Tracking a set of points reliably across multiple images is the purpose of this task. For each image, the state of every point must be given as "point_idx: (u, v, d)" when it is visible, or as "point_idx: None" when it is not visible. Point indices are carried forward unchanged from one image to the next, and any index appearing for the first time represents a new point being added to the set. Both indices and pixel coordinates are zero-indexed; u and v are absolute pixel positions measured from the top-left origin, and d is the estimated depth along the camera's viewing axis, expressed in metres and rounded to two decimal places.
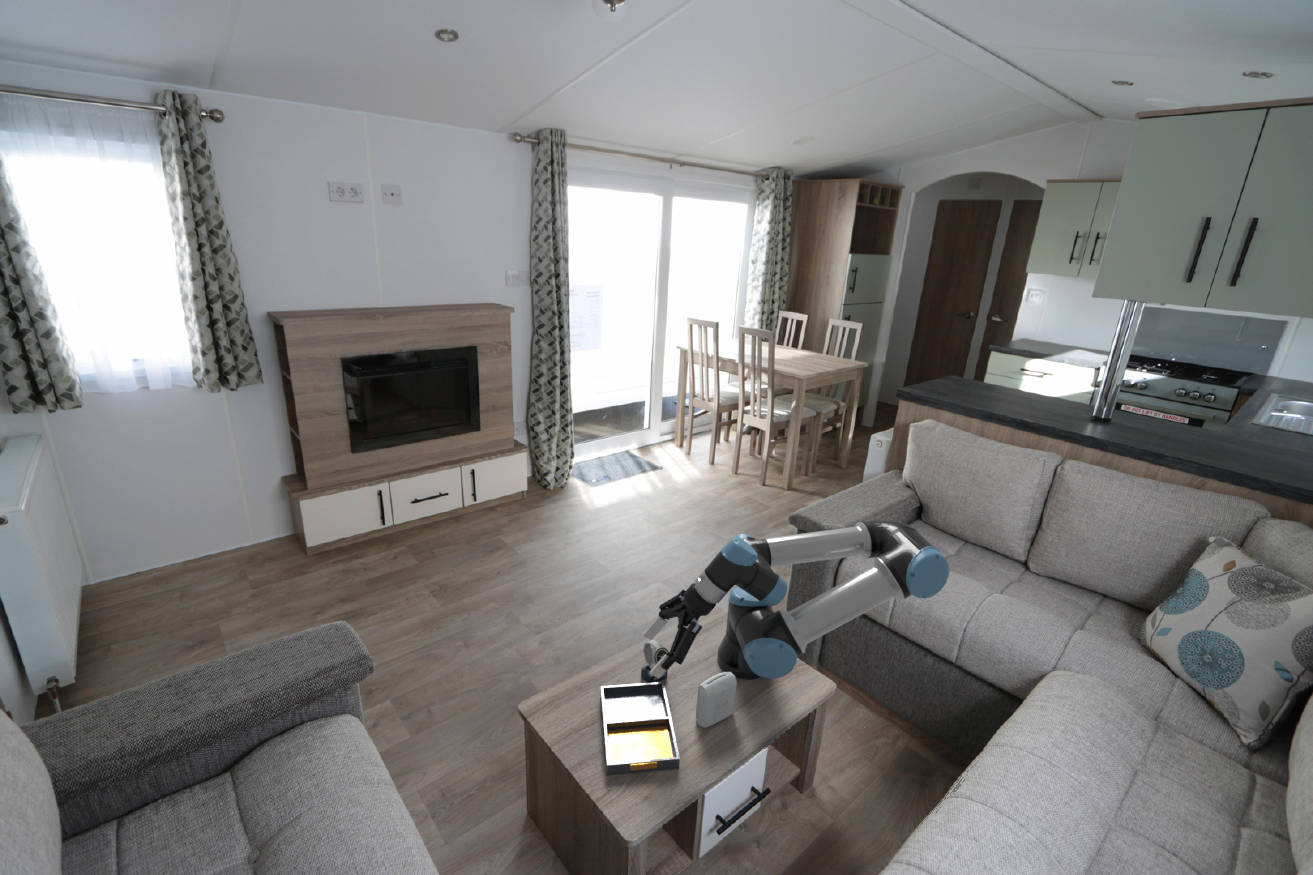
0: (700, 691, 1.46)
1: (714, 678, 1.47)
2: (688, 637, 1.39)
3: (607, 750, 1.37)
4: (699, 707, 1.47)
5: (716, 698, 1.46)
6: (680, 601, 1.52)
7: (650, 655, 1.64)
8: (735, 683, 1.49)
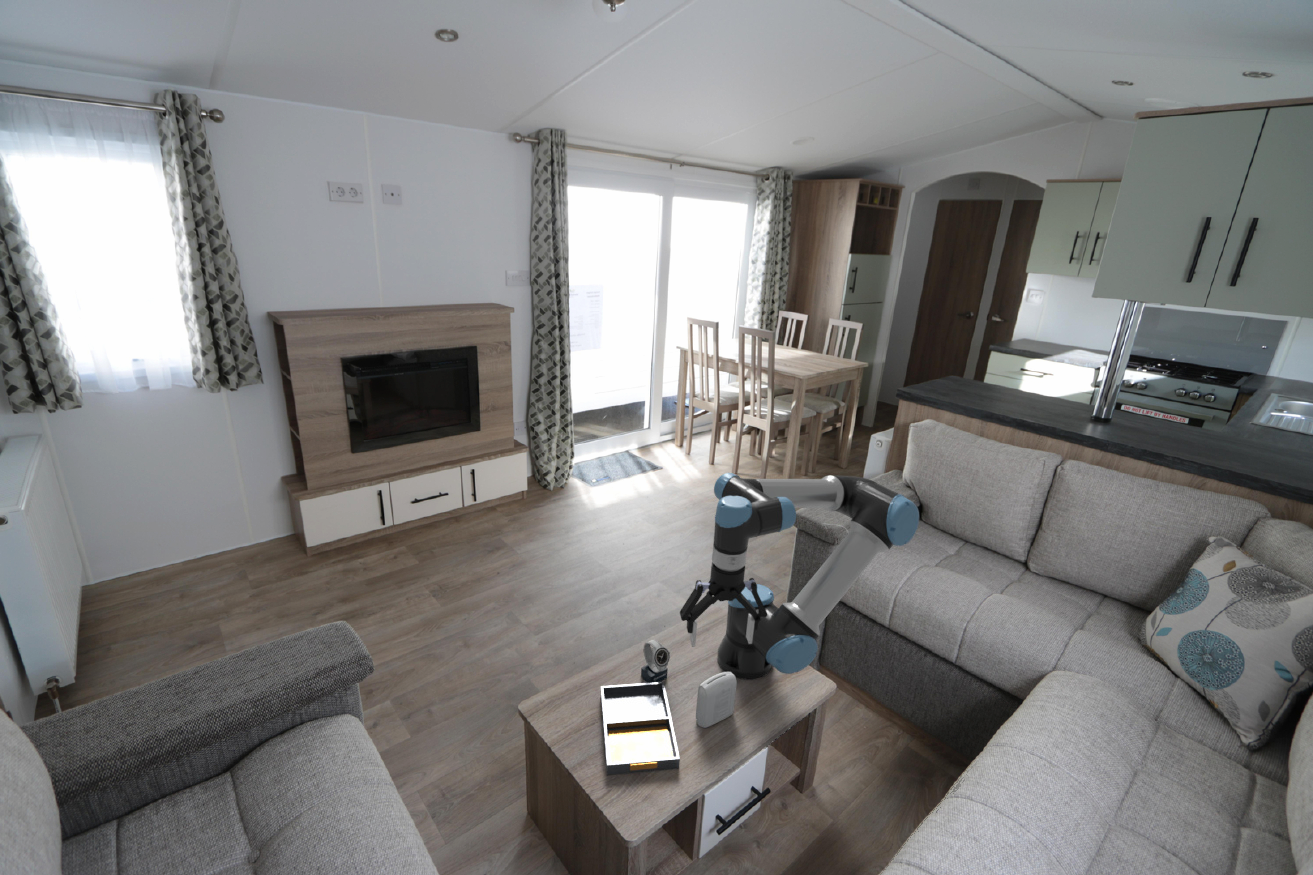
0: (700, 691, 1.46)
1: (714, 678, 1.47)
2: (758, 594, 1.40)
3: (607, 750, 1.37)
4: (699, 707, 1.47)
5: (716, 698, 1.46)
6: None
7: (650, 655, 1.64)
8: (735, 683, 1.49)
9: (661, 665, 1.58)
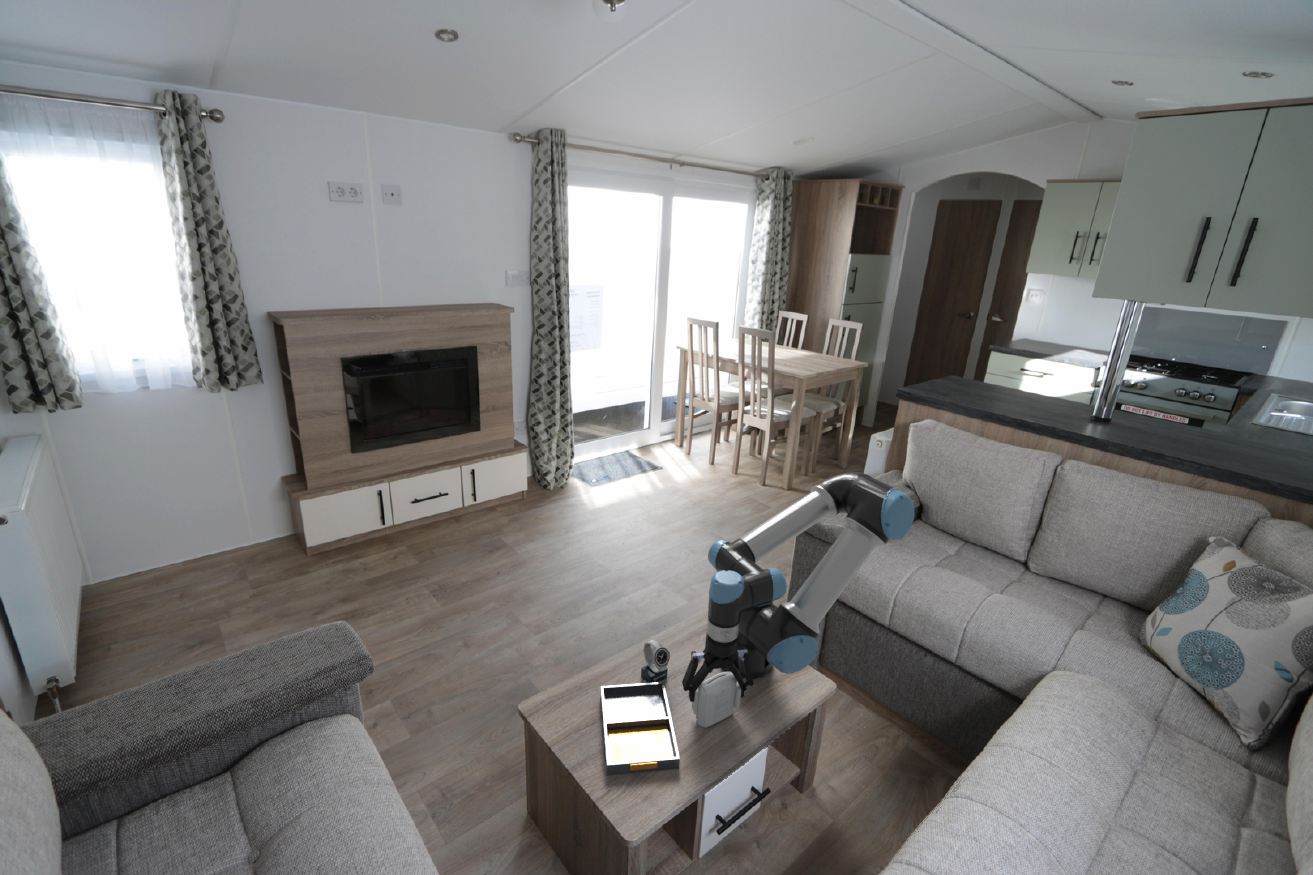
0: (700, 691, 1.46)
1: (714, 678, 1.47)
2: (748, 664, 1.47)
3: (607, 750, 1.37)
4: (699, 707, 1.47)
5: (716, 698, 1.46)
6: None
7: (650, 655, 1.64)
8: (735, 683, 1.49)
9: (661, 665, 1.58)
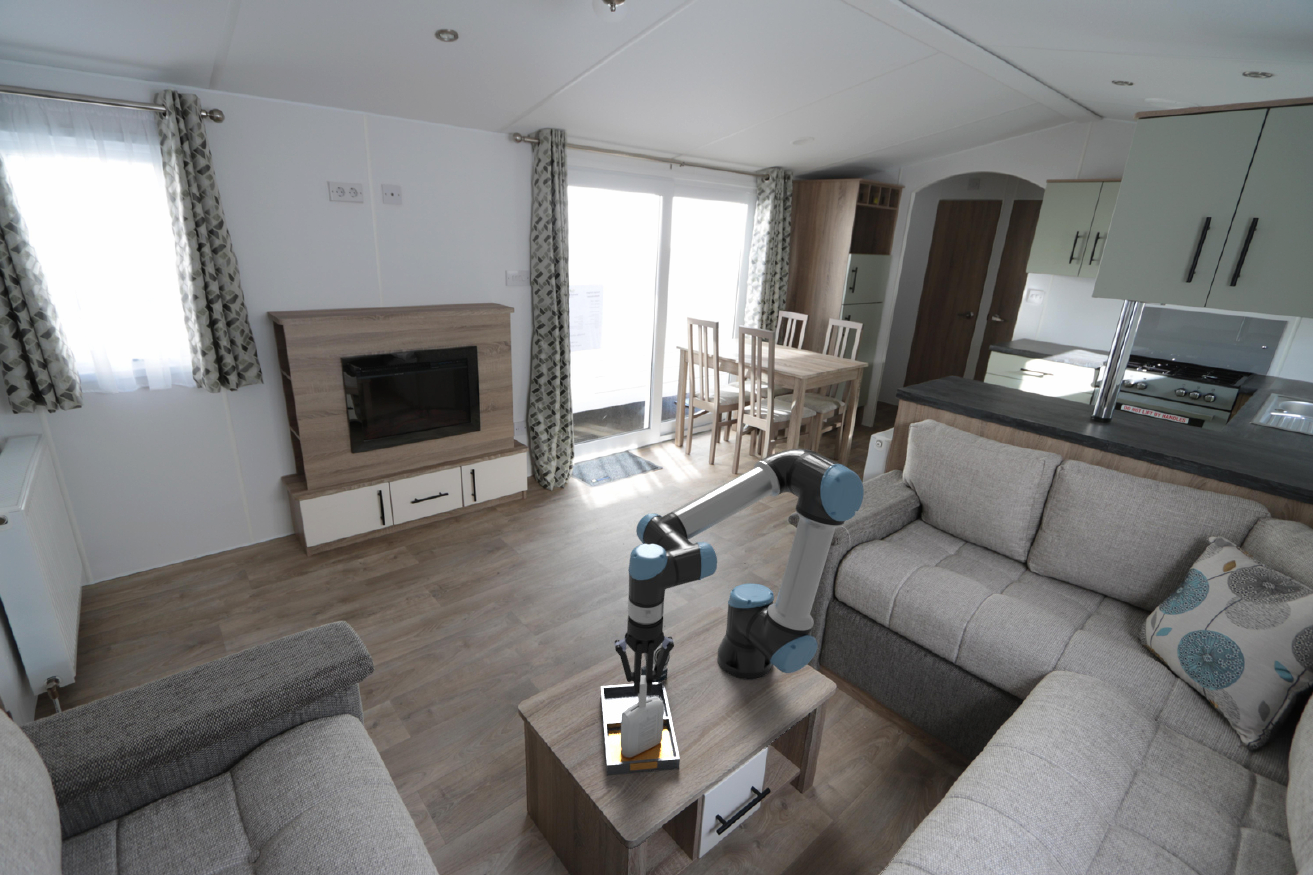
0: (623, 719, 1.35)
1: (638, 704, 1.36)
2: None
3: (607, 750, 1.37)
4: (622, 736, 1.36)
5: (640, 726, 1.35)
6: (625, 651, 1.31)
7: None
8: (662, 710, 1.38)
9: None
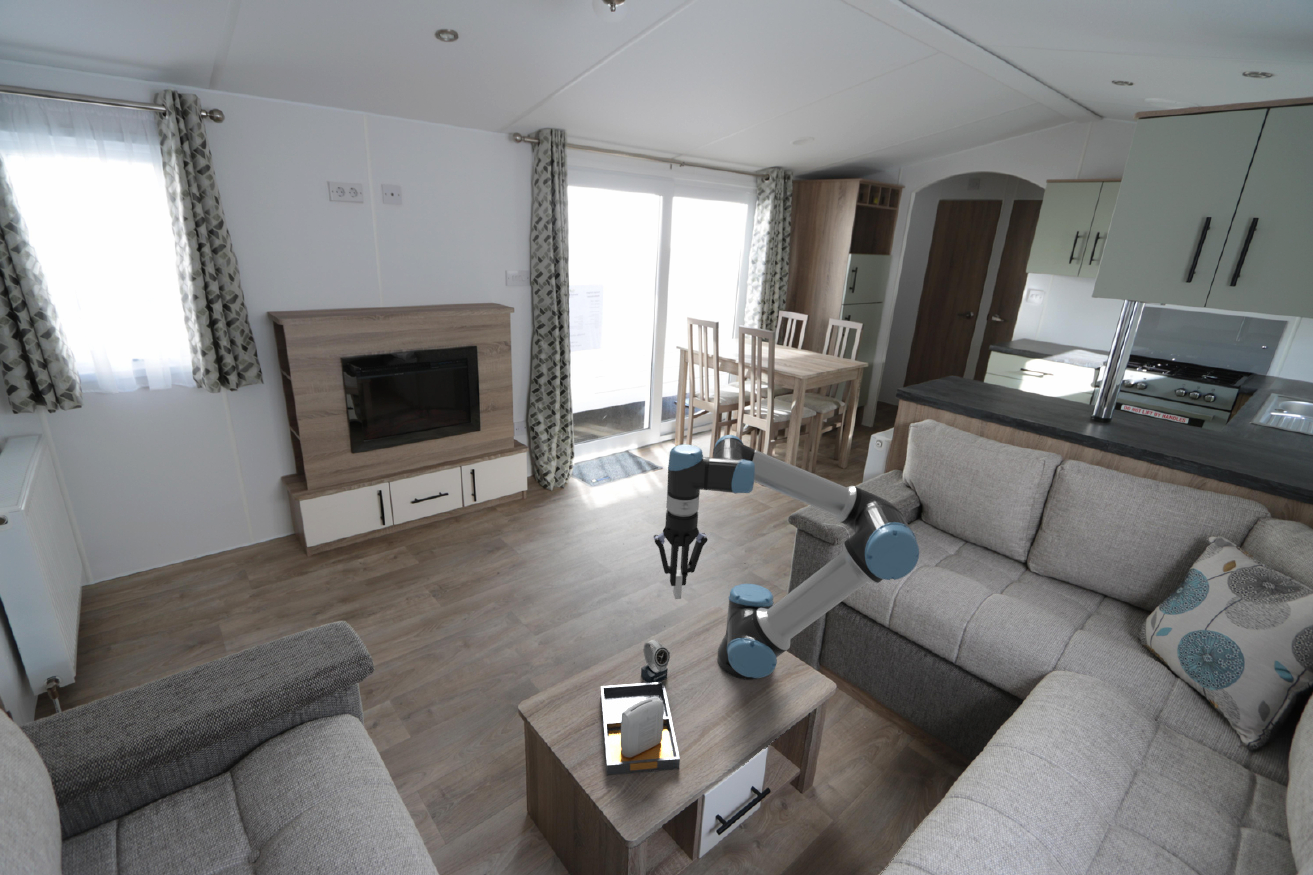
0: (623, 719, 1.35)
1: (638, 704, 1.36)
2: None
3: (607, 750, 1.37)
4: (622, 736, 1.36)
5: (640, 726, 1.35)
6: None
7: (650, 655, 1.64)
8: (662, 710, 1.38)
9: (661, 665, 1.58)
